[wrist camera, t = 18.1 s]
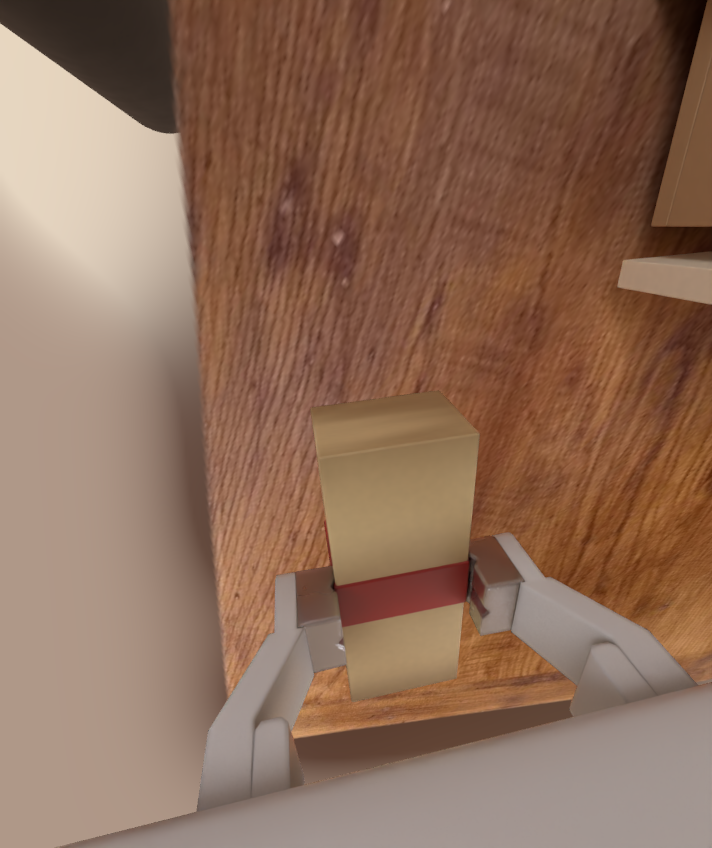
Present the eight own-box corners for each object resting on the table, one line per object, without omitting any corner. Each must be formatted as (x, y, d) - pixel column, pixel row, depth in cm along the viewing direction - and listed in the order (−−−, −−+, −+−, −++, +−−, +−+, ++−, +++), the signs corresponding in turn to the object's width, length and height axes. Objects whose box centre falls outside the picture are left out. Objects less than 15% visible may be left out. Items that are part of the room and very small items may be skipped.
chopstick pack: (432, 611, 14) (459, 680, 12) (339, 630, 14) (350, 705, 12) (440, 388, 10) (484, 434, 8) (307, 406, 10) (315, 460, 8)
